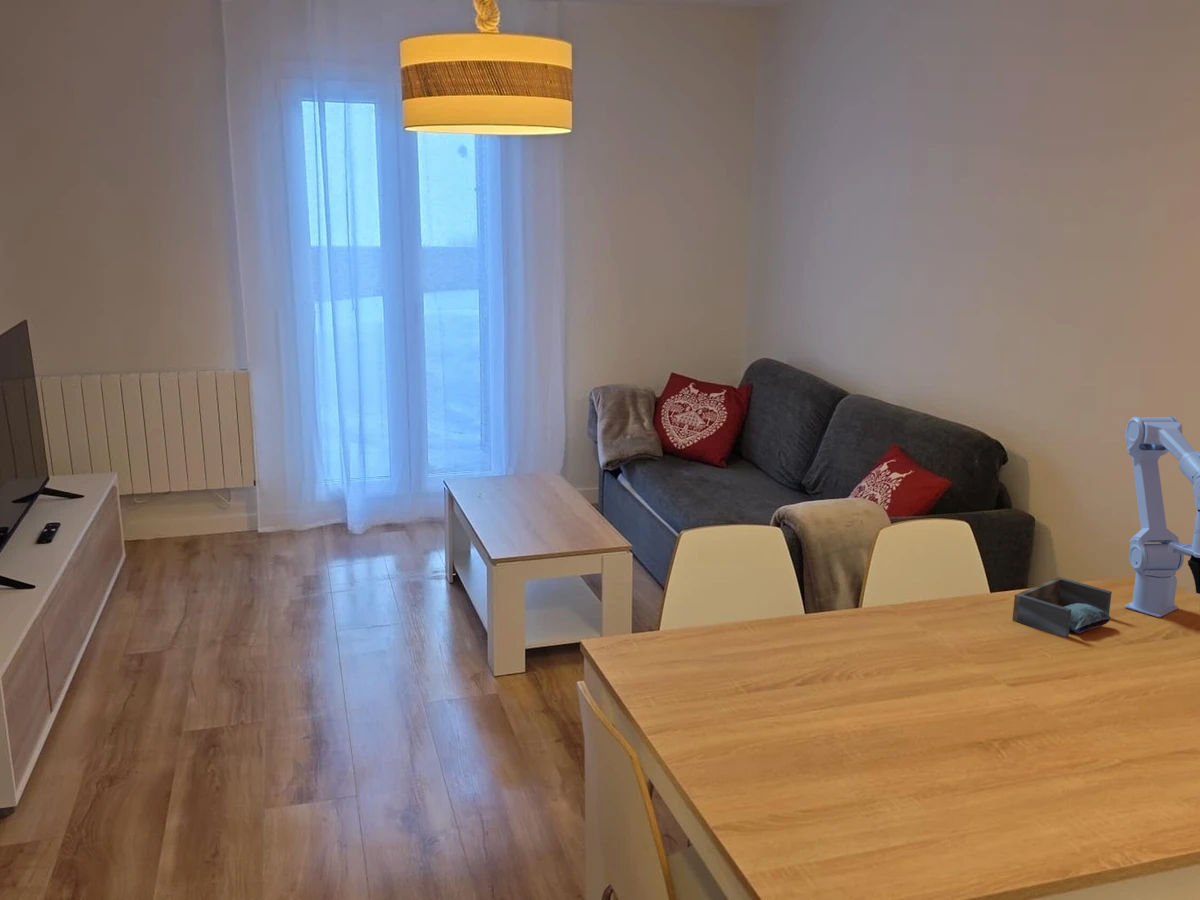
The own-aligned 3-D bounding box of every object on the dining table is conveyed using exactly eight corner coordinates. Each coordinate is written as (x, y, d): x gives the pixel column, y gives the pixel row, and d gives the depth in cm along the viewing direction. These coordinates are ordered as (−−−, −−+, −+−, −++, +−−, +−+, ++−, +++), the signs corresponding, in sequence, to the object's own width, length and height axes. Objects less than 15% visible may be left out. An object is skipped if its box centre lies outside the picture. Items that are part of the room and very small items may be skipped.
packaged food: (1042, 625, 229) (1044, 604, 227) (1076, 615, 234) (1079, 594, 233) (1077, 639, 221) (1080, 618, 220) (1111, 628, 227) (1114, 607, 226)
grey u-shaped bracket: (1056, 601, 242) (1059, 576, 241) (1108, 617, 233) (1111, 591, 232) (1012, 620, 231) (1014, 594, 230) (1065, 637, 222) (1068, 611, 220)
